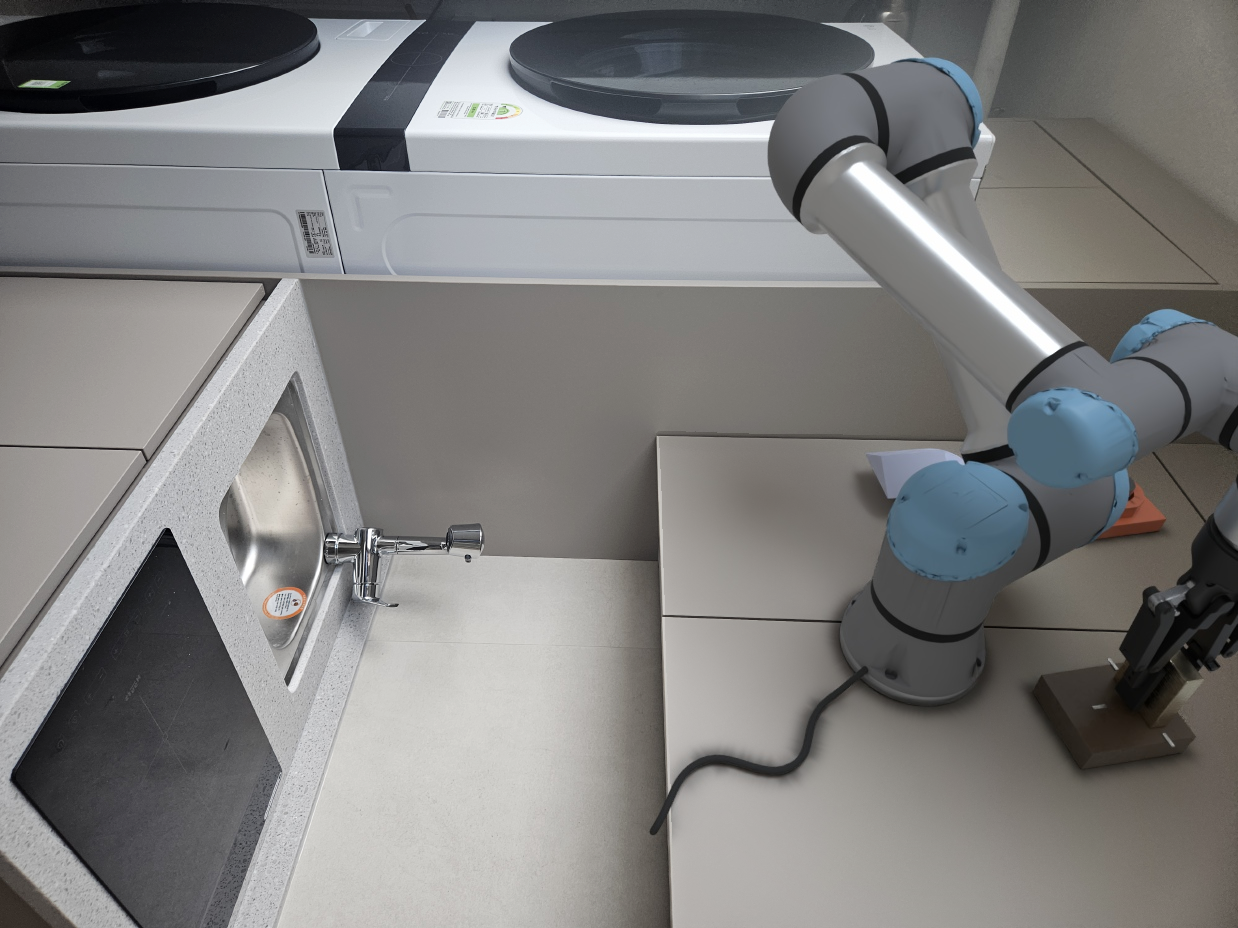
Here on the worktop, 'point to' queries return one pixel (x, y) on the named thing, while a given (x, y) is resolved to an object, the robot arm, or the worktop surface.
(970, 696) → the worktop surface
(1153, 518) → the button box
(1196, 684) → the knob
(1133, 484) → the button
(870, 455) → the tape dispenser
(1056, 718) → the panel
